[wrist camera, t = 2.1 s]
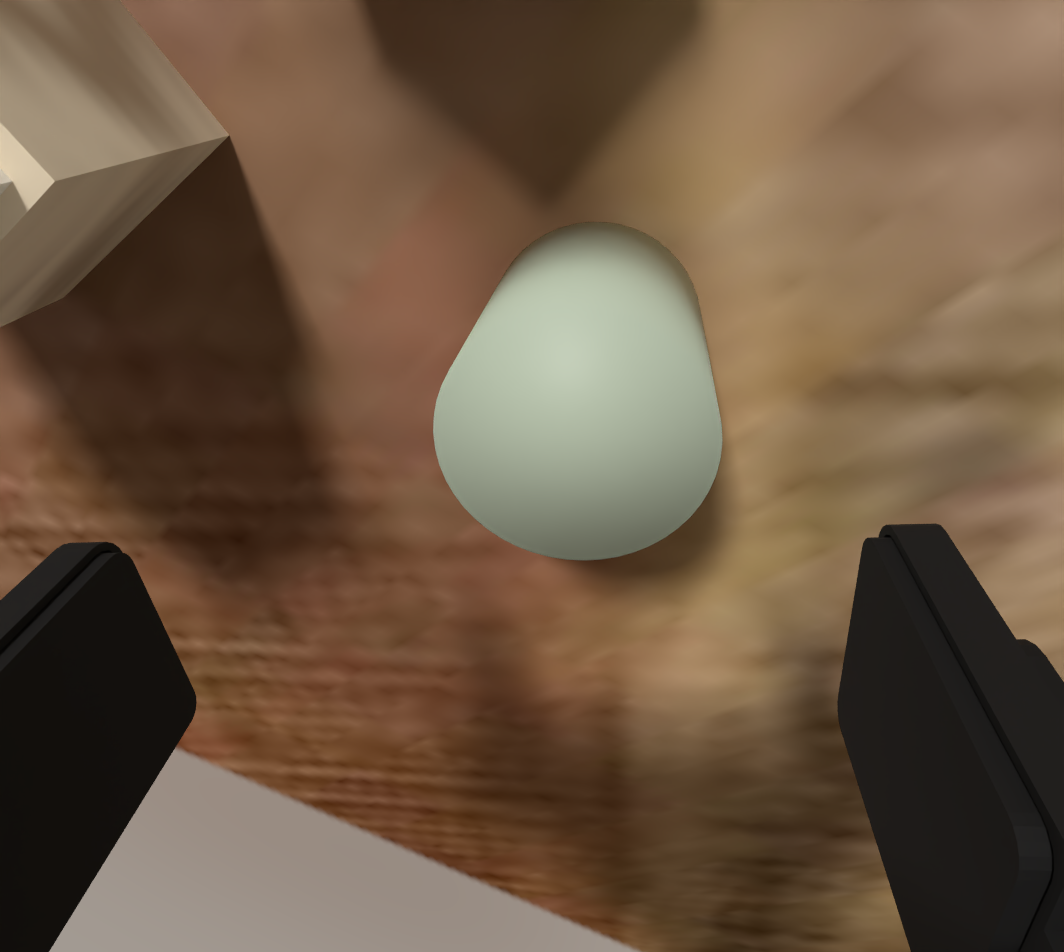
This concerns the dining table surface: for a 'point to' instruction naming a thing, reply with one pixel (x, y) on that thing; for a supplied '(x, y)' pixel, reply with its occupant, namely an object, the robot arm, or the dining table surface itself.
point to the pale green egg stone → (583, 398)
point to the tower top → (4, 181)
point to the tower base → (84, 141)
